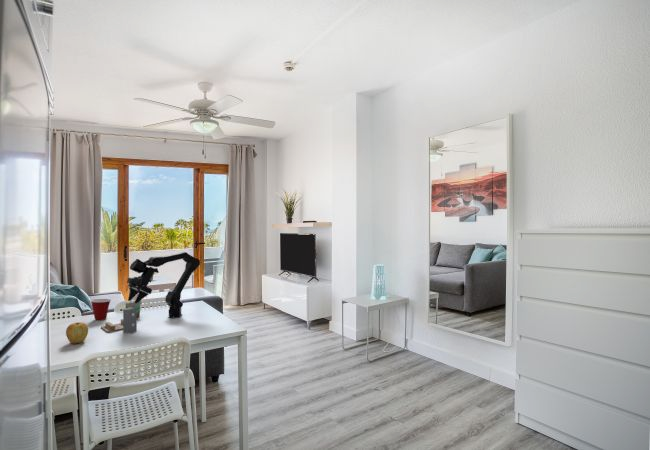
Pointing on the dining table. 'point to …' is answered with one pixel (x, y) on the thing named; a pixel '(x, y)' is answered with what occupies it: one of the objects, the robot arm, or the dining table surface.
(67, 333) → the apple
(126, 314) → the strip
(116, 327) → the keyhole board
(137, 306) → the food container
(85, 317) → the dining table surface
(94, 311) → the plastic cup
